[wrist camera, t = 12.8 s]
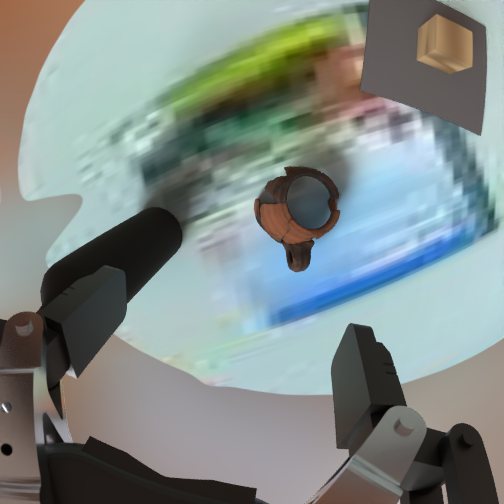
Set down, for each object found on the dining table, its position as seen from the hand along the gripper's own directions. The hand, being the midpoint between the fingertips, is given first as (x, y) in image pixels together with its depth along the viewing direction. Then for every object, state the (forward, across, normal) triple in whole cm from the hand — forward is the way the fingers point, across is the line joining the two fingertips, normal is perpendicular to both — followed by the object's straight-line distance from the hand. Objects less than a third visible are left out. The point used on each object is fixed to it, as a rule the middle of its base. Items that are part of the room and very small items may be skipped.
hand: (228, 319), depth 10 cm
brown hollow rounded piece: (+28, -3, +3) cm, 28 cm away
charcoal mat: (+28, -16, -23) cm, 40 cm away
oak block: (+27, -16, -23) cm, 39 cm away
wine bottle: (+28, +15, +10) cm, 33 cm away
